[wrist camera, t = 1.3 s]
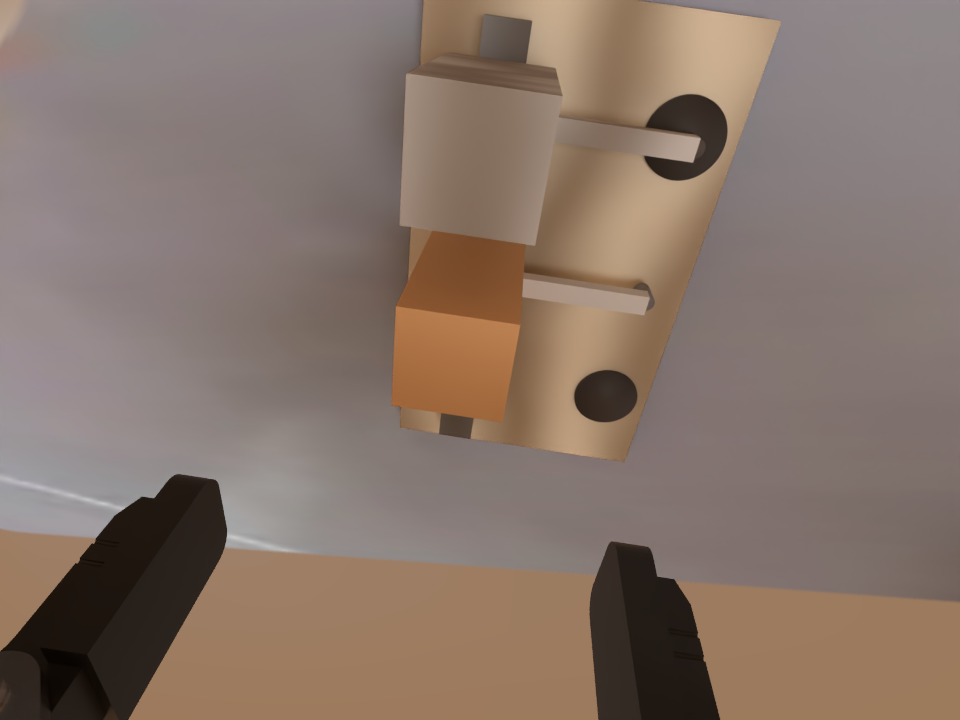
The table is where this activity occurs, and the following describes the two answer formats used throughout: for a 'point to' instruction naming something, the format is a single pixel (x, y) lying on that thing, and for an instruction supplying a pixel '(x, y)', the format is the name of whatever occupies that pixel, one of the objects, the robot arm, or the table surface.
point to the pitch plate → (577, 184)
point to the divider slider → (477, 322)
